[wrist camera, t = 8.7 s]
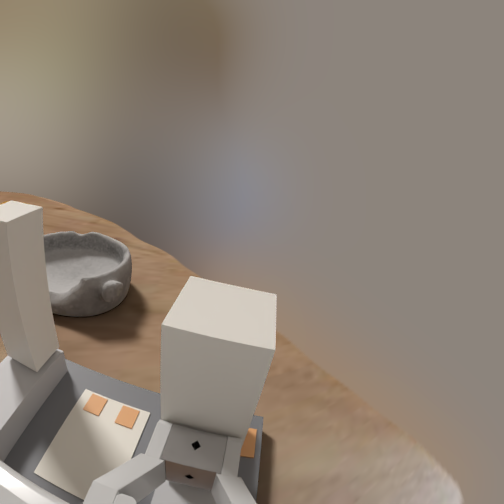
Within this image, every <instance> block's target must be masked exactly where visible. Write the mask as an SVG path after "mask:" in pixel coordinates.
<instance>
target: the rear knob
mask: <svg viewBox="0 0 504 504" xmlns="http://www.w3.org/2000/svg"><path fill="white" fill-rule="evenodd" d="M0 333H1V337H2V340H3V343H4V346H5V349H6V351H7V354H8V356H10V357H11V358H13V359H15V360H16V361H18V362H20V363H22V364H23V365H25V366H27V367H29V368H30V369H32V370H34V371H36V372H38V371H39V369H40V368H41V367H42V366H43V365H44V364H45V362H46V361H47V360H48V359H49V358H50V357H51V355H52V354H53V353H54V352H55V351H56V350H57V349H58V348H59V343H58V339H57V334H56V329H55V324H54V319H53V314H52V308H51V302H50V295H49V288H48V281H47V272H46V262H45V251H44V236H43V207H40V206H35V205H30V204H25V203H21V202H16V201H9V202H6V203H4V204H1V205H0Z"/></svg>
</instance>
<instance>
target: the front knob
mask: <svg viewBox="0 0 504 504" xmlns="http://www.w3.org/2000/svg"><path fill="white" fill-rule="evenodd" d="M276 297H277V295H276V294H271V293H267V292H262V291H256V290H252V289H248V288H243V287H238V286H234V285H229V284H224V283H220V282H215V281H211V280H206V279H202V278H198V277H193V276H190V278H189V280H188V281H187V283H186V284H185V286H184V288H183V289H182V291H181V293H180V294H179V296H178V298H177V299H176V301H175V303H174V304H173V306H172V308H171V309H170V311H169V313H168V314H167V316H166V318H165V319H164V321H163V323H162V329H161V420H164V421H167V422H171V423H174V424H177V425H181V426H184V427H188V428H192V429H196V430H201V431H206V432H211V433H216V434H221V435H226V436H227V437H228V436H230V437H235V438H241V439H242V445H243V443H244V440H245V437H246V435H247V432H248V429H249V426H250V423H251V421H252V418H253V415H254V412H255V409H256V406H257V403H258V401H259V398H260V395H261V392H262V389H263V386H264V383H265V380H266V377H267V374H268V371H269V368H270V365H271V362H272V358H273V355H274V352H275V341H276ZM241 448H242V446H241Z"/></svg>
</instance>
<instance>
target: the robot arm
mask: <svg viewBox="0 0 504 504" xmlns="http://www.w3.org/2000/svg"><path fill="white" fill-rule="evenodd" d="M241 446H242V439H241V438H235V437H230V436H228V437H227V436H226V435H221V434H216V433H211V432H206V431H201V430H196V429H192V428H188V427H184V426H181V425H177V424H174V423H171V422H167V421H164V420H159V421H158V423H157V425H156V427H155V430H154V432H153V435H152V437H151V440H150V442H149V445H148V448H147V450H146V453H145V454H143V453H140V454H139V455H137V456H135V457H134V458H132V459H130V460H129V461H127V462H125V463H124V464H122V465H120V466H119V467H117V468H115V469H113V470H112V471H110V472H108V473H106V474H104V475H103V476H101V477H99V478H97V479H95V480H93V482H92V484H91V487H90V489H89V491H88V493H87V495H86V497H85V500H84V502H83V504H137V503H138V502H139V501H140V500H142V499H143V498H144V497H146V496H147V495H149V494H150V493H151V492H152V491H154V490H155V489H156V488H158V487H159V486H160V485H162V484H163V483H164V482H165V481H166V480H168V481H172V482H176V483H180V484H184V485H189V486H192V487H196V488H200V489H204V490H209V491H211V493H212V495H213V498H214V500H215V502H216V504H257V503H256V502H255V500H254V498H253V497H252V495H251V493H250V492H249V490H248V488H247V487H246V485H245V483H244V481H243V480H242V478H241V477H237V475H238V468H239V461H240V453H241ZM0 504H69V503H68V502H66V501H64V500H62V499H60V498H58V497H56V496H55V495H53V494H51V493H49V492H48V491H46V490H44V489H43V488H41V487H39V486H38V485H36V484H34V483H33V482H31V481H30V480H28V479H27V478H25V477H24V476H22V475H21V474H19V473H18V472H16V471H15V470H13V469H12V468H11V467H9V466H8V465H6V464H5V463H4V462H2V461H1V460H0Z"/></svg>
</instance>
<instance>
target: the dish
mask: <svg viewBox="0 0 504 504" xmlns="http://www.w3.org/2000/svg"><path fill="white" fill-rule="evenodd" d="M43 236H44V251H45V262H46V272H47V281H48V288H49V295H50V302H51V308H52V313H55V314H59V315H65V316H75V317H84V316H93V315H98V314H101V313H104V312H107V311H109V310H111V309H113V308H114V307H116V306H117V305H118V304H120V303H121V302H122V301H123V299H124V298H125V297H126V295H127V293H128V290H129V286H130V281H131V273H132V262H131V255H130V252H129V250H128V248H127V247H126V246H125V245H124V244H123V243H121V242H119V241H117V240H115V239H113V238H111V237H108V236H106V235H103V234H100V233H96V232H90V233H87V234H78V233H76V232H74V231H68V232H57V233H51V234H47V235H43Z"/></svg>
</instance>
